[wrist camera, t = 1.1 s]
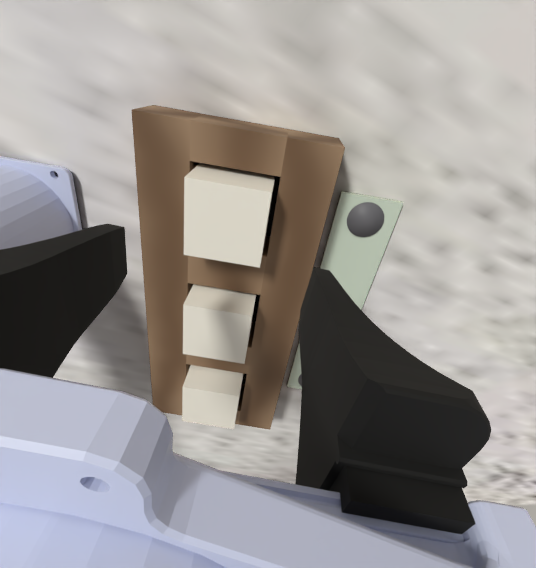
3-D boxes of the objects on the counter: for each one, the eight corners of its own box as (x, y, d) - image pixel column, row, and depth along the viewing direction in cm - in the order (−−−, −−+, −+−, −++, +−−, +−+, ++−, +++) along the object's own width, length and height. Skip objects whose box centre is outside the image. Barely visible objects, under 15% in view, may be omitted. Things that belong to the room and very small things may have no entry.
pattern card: (287, 384, 31) (287, 387, 31) (341, 191, 21) (341, 192, 20) (327, 391, 31) (328, 394, 31) (402, 201, 21) (403, 203, 20)
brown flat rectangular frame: (164, 384, 32) (153, 410, 30) (153, 105, 19) (131, 109, 16) (271, 402, 33) (270, 429, 30) (338, 138, 19) (344, 147, 17)
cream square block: (192, 388, 30) (182, 421, 27) (193, 355, 27) (182, 387, 25) (239, 396, 30) (233, 429, 27) (245, 364, 28) (239, 396, 25)
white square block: (198, 231, 21) (183, 254, 18) (201, 162, 19) (184, 177, 16) (264, 242, 21) (259, 267, 18) (275, 175, 19) (272, 192, 16)
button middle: (195, 323, 25) (182, 353, 23) (196, 277, 23) (183, 304, 20) (250, 332, 26) (244, 363, 23) (257, 287, 23) (252, 316, 20)
